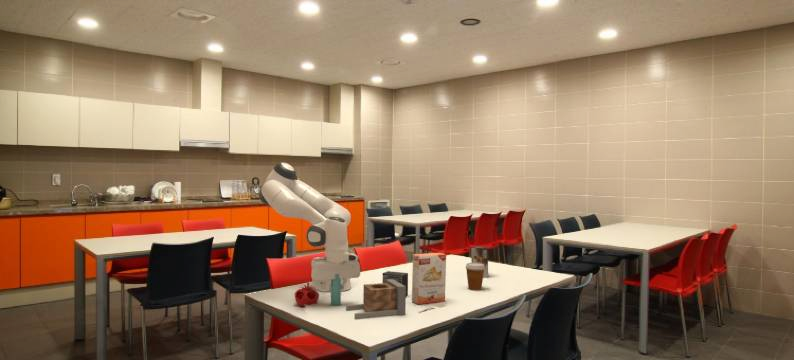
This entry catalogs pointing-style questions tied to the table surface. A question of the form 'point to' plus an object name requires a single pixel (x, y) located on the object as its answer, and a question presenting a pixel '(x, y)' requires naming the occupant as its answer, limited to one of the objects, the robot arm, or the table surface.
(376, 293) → the socket block
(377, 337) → the table surface
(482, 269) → the disposable coffee cup
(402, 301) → the backstop
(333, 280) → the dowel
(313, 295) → the pomegranate
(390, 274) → the small box
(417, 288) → the cracker box
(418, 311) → the fork
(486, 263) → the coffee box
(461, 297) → the table surface
